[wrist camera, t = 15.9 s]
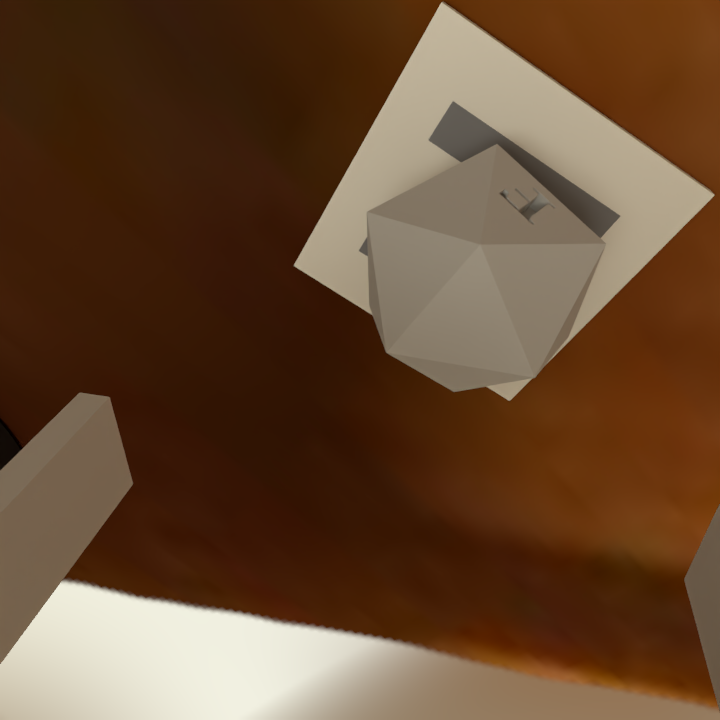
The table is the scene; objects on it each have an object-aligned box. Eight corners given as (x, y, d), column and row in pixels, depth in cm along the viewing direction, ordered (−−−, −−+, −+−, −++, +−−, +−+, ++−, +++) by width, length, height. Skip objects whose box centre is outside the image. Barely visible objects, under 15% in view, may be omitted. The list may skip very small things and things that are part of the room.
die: (606, 296, 28) (692, 236, 18) (464, 431, 28) (473, 444, 19) (474, 173, 29) (486, 53, 19) (341, 303, 30) (287, 252, 20)
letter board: (509, 394, 32) (509, 401, 31) (297, 260, 30) (293, 265, 30) (710, 190, 25) (714, 195, 24) (443, 1, 23) (441, 2, 23)
